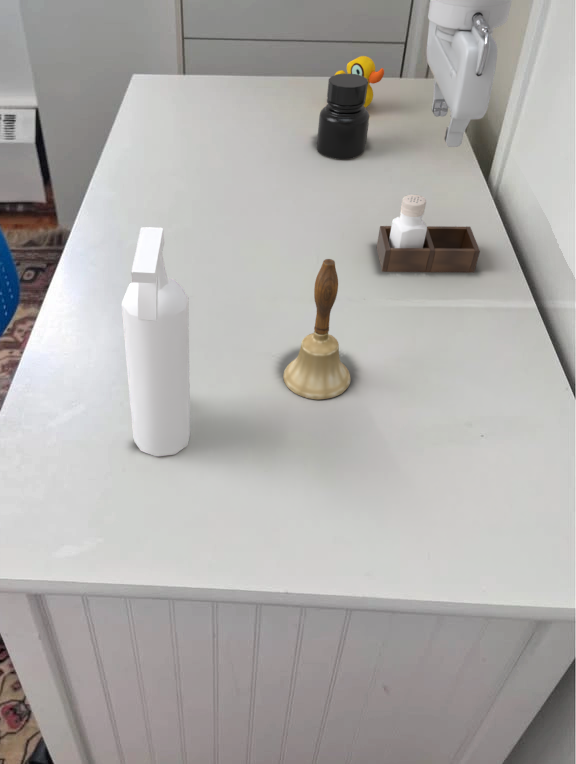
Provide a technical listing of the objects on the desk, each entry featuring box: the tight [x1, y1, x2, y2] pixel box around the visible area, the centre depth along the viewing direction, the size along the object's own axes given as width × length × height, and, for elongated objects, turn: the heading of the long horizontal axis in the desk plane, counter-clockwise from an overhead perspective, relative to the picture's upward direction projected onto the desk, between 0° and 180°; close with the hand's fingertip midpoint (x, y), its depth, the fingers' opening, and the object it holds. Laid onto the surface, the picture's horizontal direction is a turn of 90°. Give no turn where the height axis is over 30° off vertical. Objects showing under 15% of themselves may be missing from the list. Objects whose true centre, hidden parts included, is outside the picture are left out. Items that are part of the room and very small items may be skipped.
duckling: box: [334, 55, 385, 109], centre depth 142 cm, size 11×5×10 cm, turn 46°
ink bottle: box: [316, 73, 370, 160], centre depth 129 cm, size 10×9×12 cm
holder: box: [376, 225, 481, 274], centre depth 104 cm, size 13×7×5 cm, turn 88°
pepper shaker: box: [389, 194, 428, 248], centre depth 102 cm, size 4×4×10 cm
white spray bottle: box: [121, 226, 191, 457], centre depth 74 cm, size 7×12×25 cm, turn 175°
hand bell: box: [282, 258, 351, 400], centre depth 83 cm, size 8×8×16 cm
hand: (445, 129), depth 91 cm, fingers open, 8 cm apart
